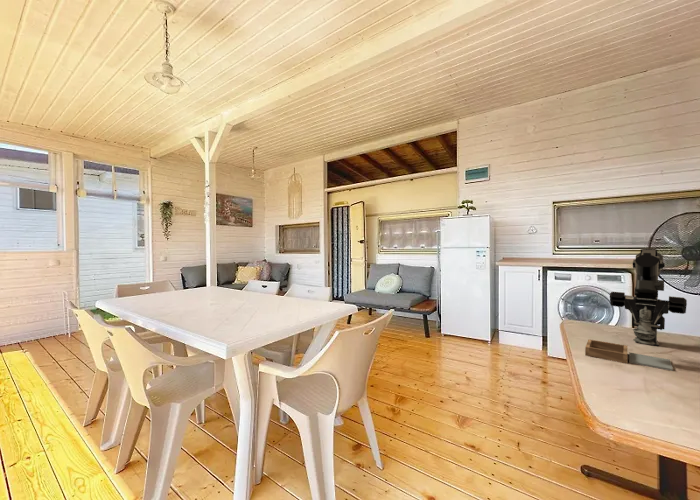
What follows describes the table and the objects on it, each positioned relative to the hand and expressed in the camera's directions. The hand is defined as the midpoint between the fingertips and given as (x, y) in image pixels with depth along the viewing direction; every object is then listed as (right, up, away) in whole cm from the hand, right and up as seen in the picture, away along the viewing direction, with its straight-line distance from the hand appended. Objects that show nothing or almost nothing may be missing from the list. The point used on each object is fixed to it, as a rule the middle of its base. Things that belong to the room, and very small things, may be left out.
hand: (644, 322), depth 102 cm
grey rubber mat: (+2, -13, +1) cm, 13 cm away
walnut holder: (-7, -13, +7) cm, 16 cm away
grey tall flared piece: (+1, -7, +1) cm, 7 cm away
